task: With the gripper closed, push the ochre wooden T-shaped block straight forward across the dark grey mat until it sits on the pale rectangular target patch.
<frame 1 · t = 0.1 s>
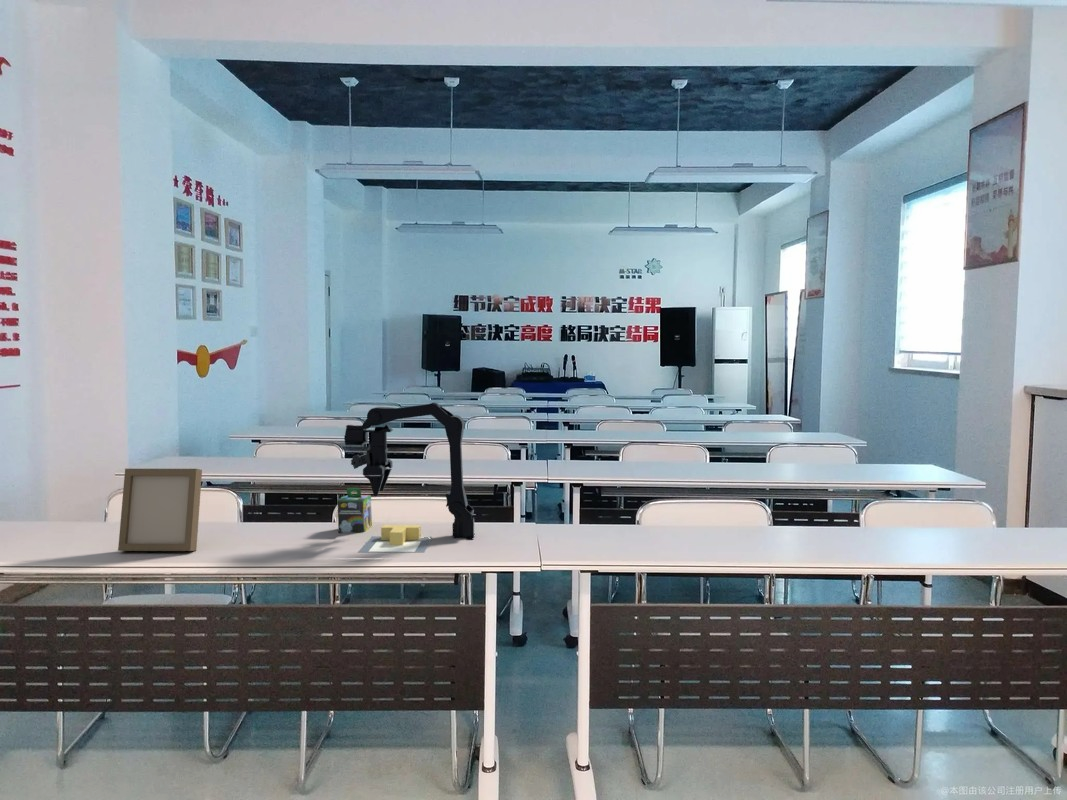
hand: (378, 493, 265), 14 cm above the table, tool pointing down, fingers open, 9 cm apart
chalk box: (355, 531, 276), on the table
T block: (400, 539, 259), resting on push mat
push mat: (397, 545, 254), on the table
photo frame: (165, 548, 251), on the table
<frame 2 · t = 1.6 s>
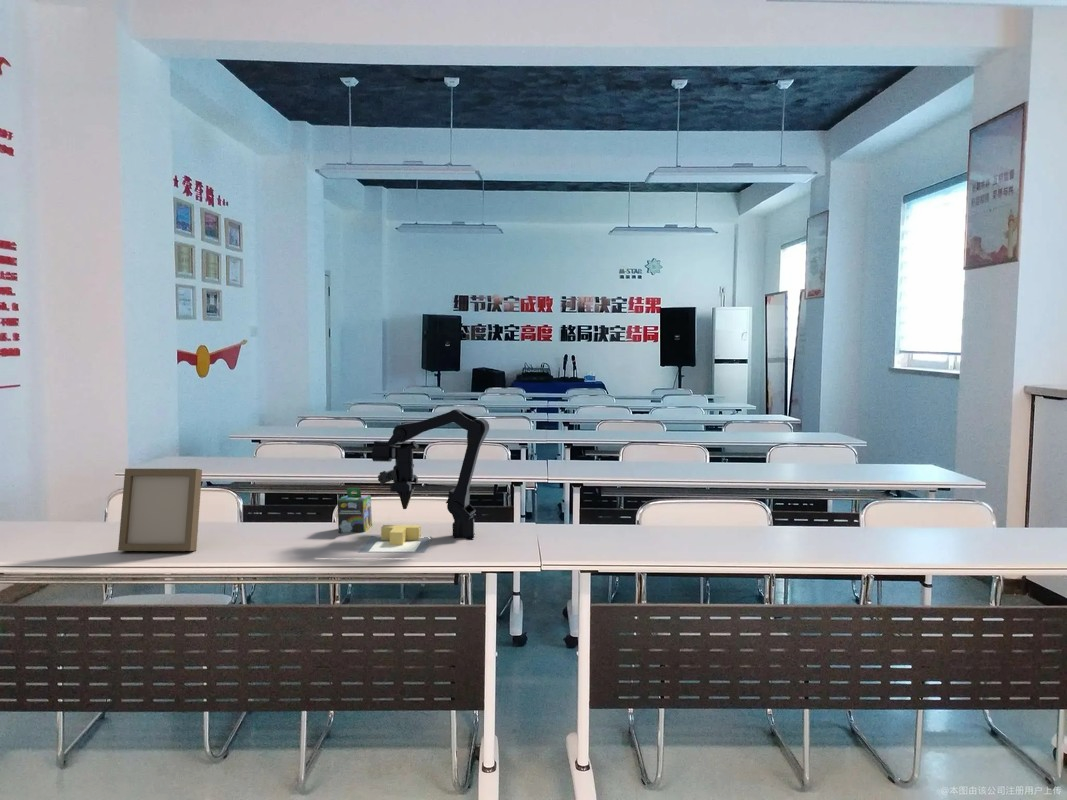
hand: (404, 508, 268), 9 cm above the table, tool pointing down, fingers closed
nothing on the table moved.
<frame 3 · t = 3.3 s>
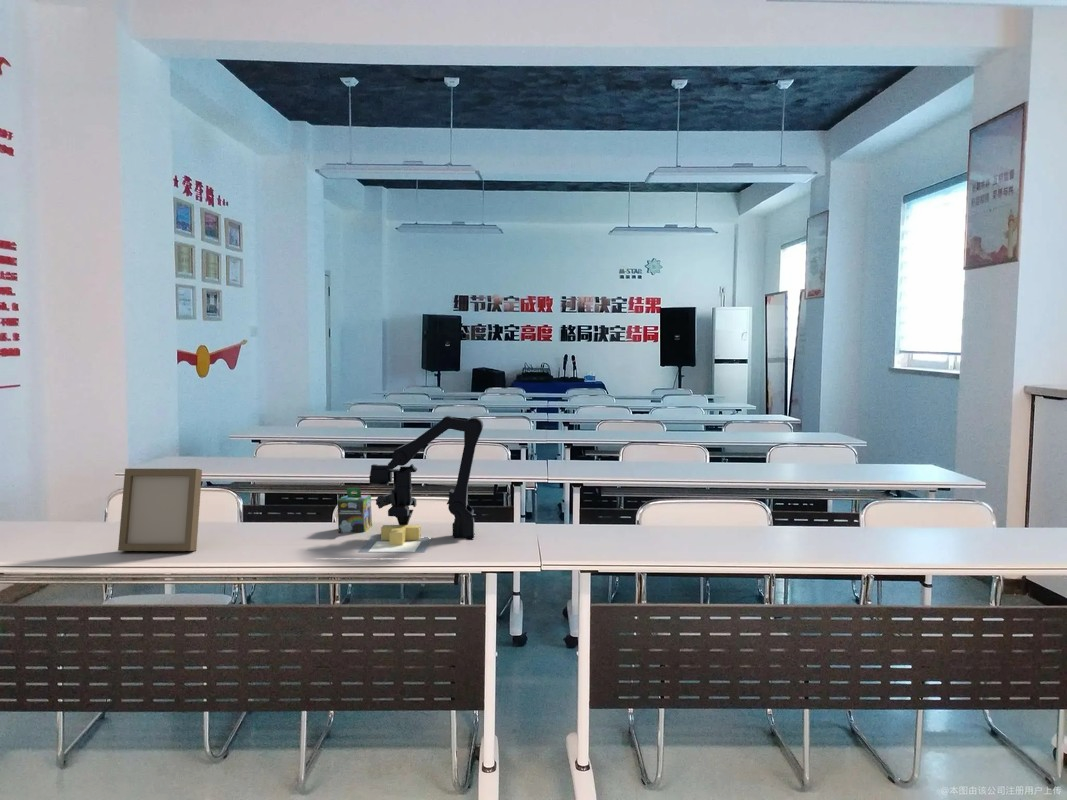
hand: (402, 532, 265), 2 cm above the table, tool pointing down, fingers closed
T block: (399, 540, 259), point 1 cm above the table, touching gripper
everything else where it was.
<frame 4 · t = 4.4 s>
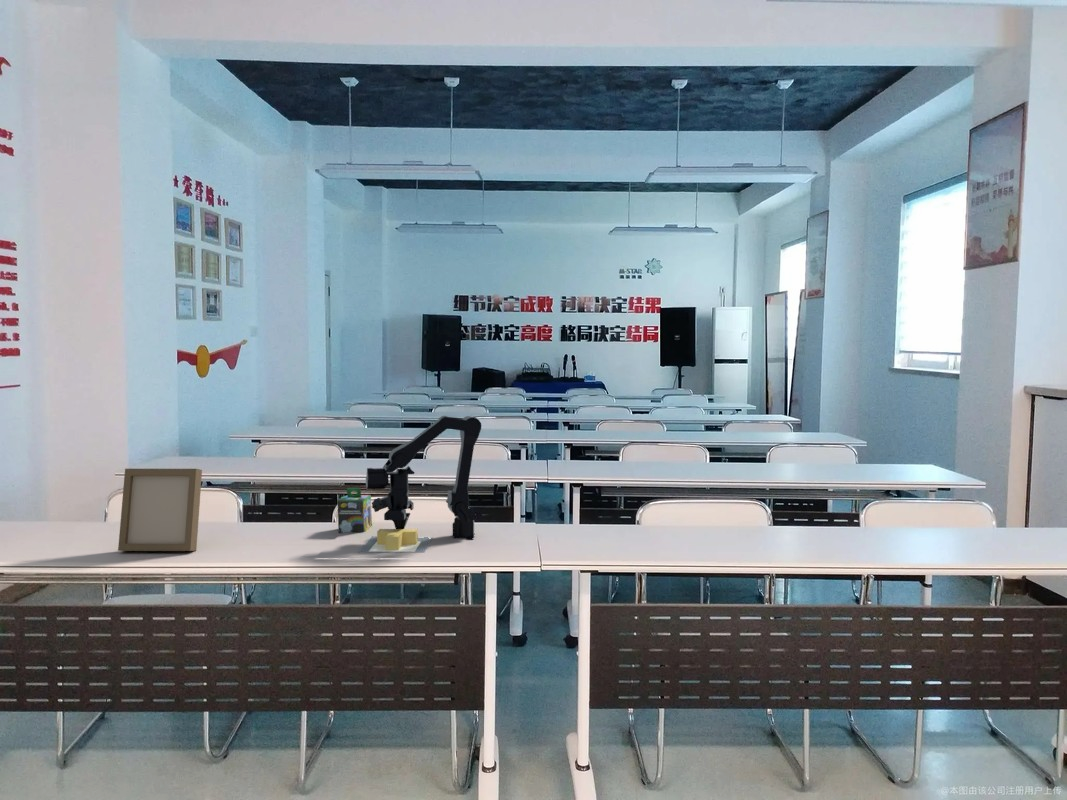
hand: (399, 536, 259), 2 cm above the table, tool pointing down, fingers closed
T block: (396, 544, 253), point 1 cm above the table, touching gripper, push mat
everything else where it was.
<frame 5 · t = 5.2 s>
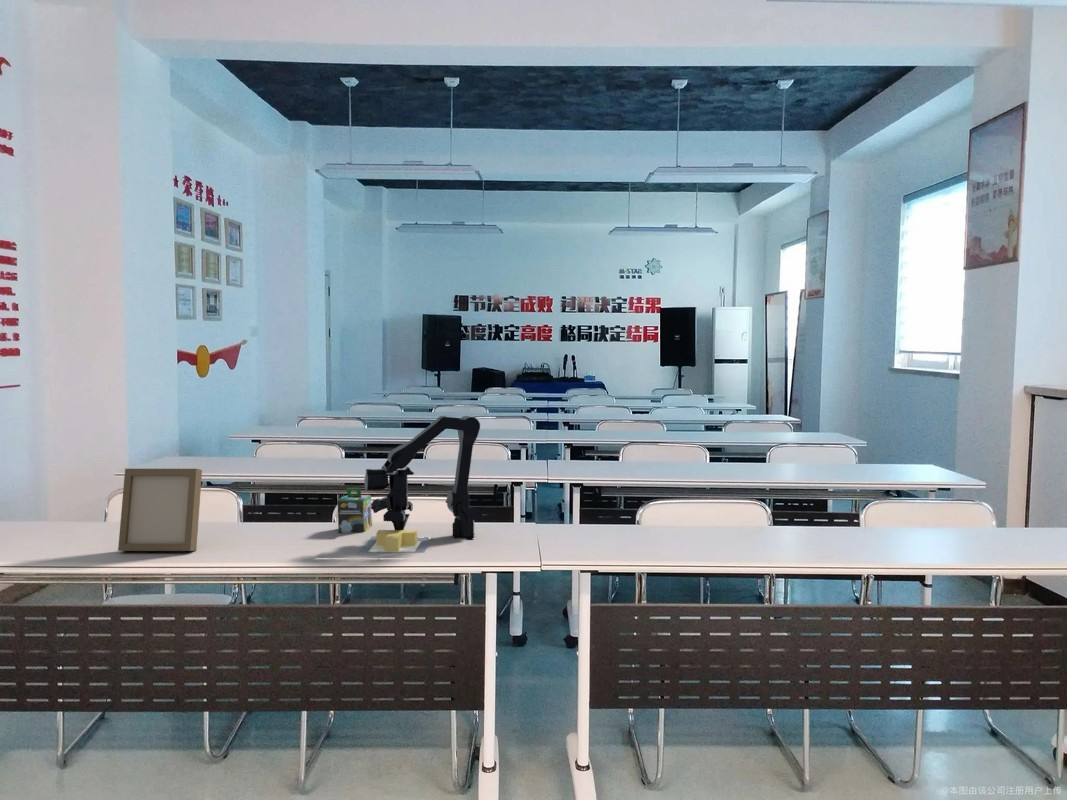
hand: (398, 537, 258), 2 cm above the table, tool pointing down, fingers closed
T block: (395, 545, 252), resting on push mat, touching gripper
everything else where it was.
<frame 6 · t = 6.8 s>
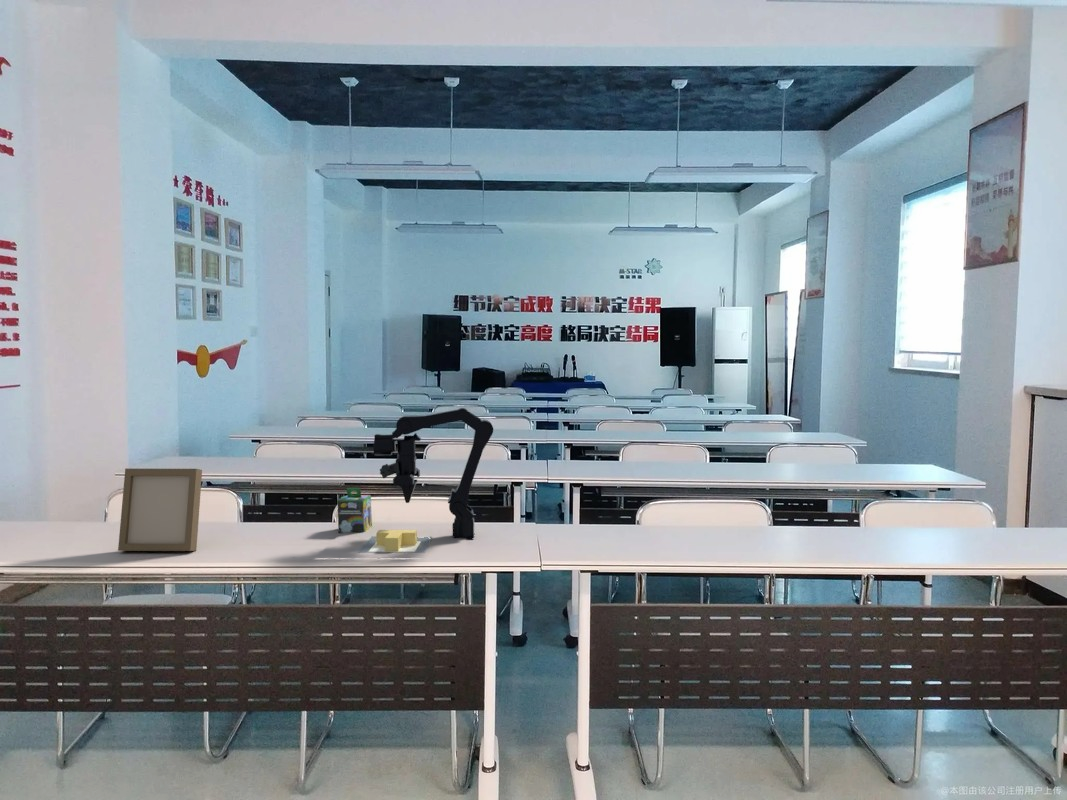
hand: (407, 502, 263), 12 cm above the table, tool pointing down, fingers closed
T block: (395, 545, 252), resting on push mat
everything else where it was.
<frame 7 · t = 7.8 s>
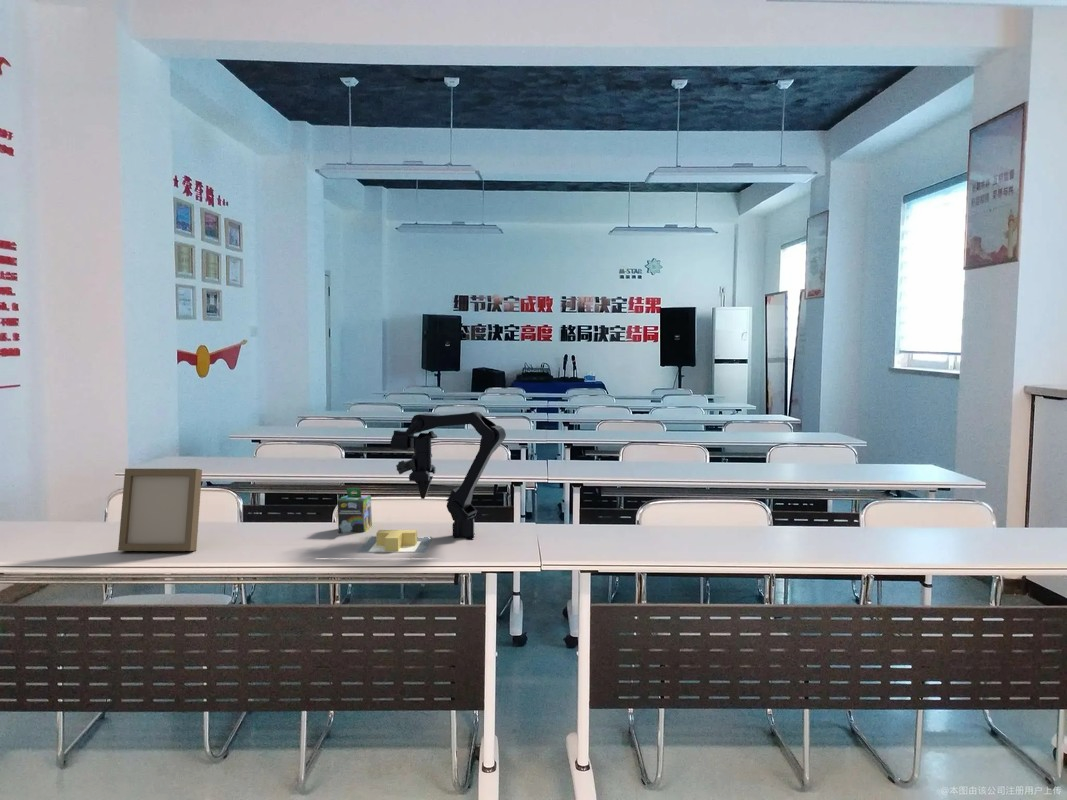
hand: (422, 498, 269), 12 cm above the table, tool pointing down, fingers closed
nothing on the table moved.
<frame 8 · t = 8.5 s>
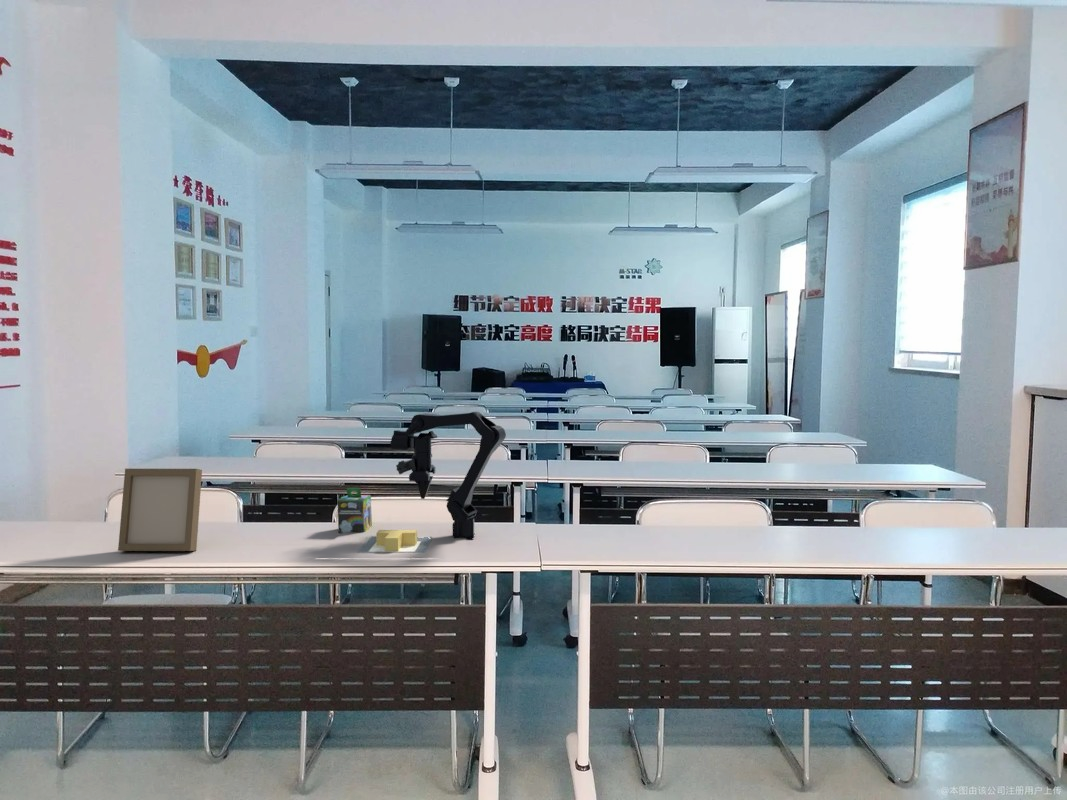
hand: (422, 498, 269), 12 cm above the table, tool pointing down, fingers closed
nothing on the table moved.
at the end: T block 0.1 cm from the target spot, point 0.5 cm above the table; T block tilted 0°; T block moved 7.6 cm from its start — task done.
